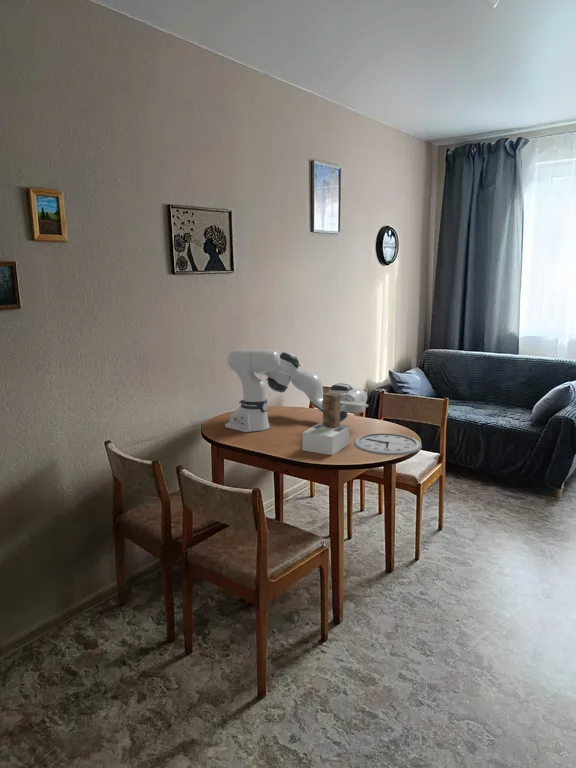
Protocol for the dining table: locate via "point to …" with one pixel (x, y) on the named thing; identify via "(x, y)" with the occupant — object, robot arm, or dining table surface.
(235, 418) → the robot arm
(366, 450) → the wall clock
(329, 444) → the box
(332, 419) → the walnut post
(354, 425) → the dining table surface
